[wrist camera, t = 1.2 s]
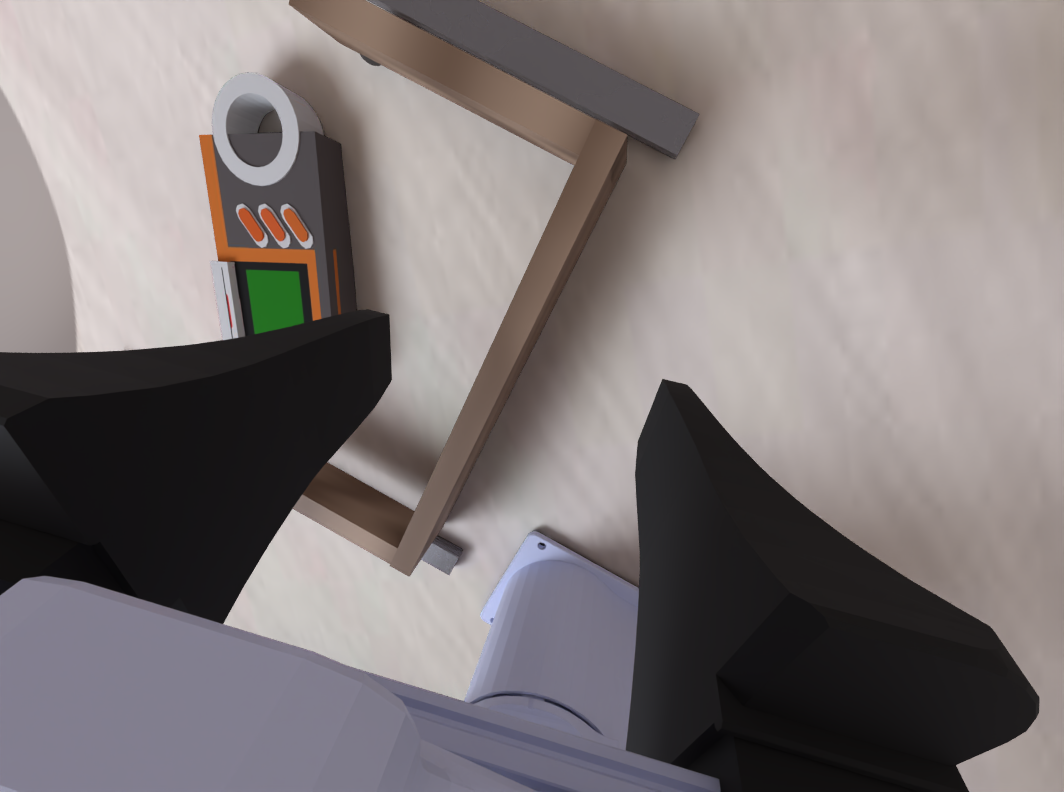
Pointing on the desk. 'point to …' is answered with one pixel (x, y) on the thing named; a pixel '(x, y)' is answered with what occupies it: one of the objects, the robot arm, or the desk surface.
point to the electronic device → (275, 212)
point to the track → (632, 108)
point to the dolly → (596, 171)
